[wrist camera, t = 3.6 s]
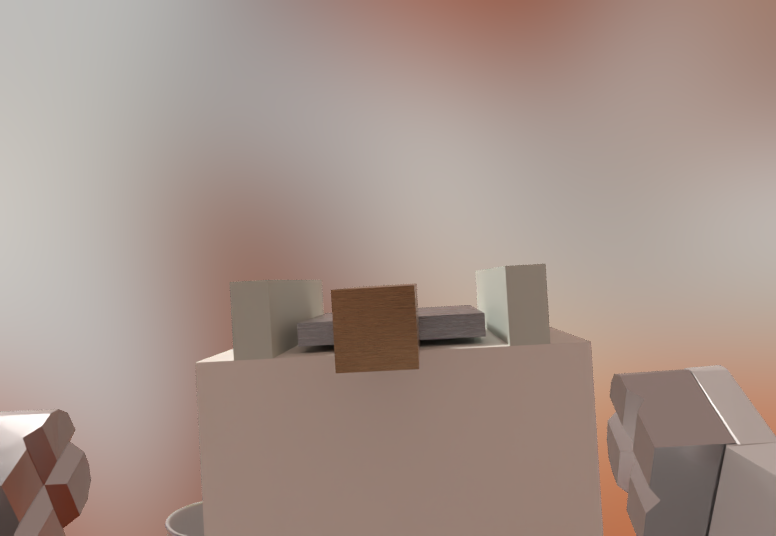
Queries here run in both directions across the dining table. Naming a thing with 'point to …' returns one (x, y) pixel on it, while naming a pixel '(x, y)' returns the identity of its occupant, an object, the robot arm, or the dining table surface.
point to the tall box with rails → (400, 425)
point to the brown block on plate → (385, 327)
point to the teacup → (186, 521)
